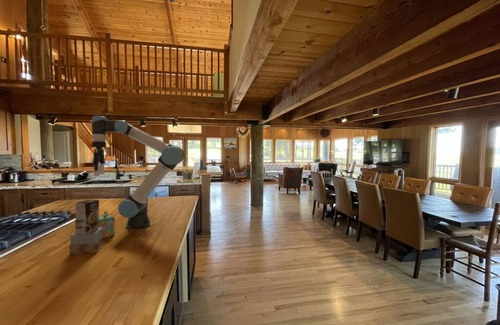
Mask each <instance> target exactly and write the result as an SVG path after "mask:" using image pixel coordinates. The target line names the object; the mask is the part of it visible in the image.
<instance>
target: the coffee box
mask: <svg viewBox="0 0 500 325" xmlns="http://www.w3.org/2000/svg"><path fill="white" fill-rule="evenodd" d="M99 211H100V200H99V199H86V200H82V201H77V202H75V226H74V227H75V229H74V233H75V234H85V235H86V234H89V233H91V232H93V231H96V230H98V229H99V216H100V215H99V214H100V213H99Z"/></svg>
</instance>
